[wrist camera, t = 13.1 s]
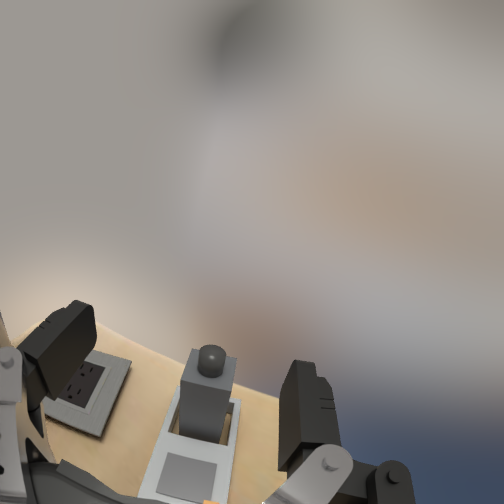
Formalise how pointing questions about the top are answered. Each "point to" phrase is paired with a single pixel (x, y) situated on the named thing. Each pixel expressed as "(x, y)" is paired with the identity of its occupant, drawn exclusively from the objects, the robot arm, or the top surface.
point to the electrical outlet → (89, 393)
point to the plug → (205, 393)
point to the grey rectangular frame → (190, 463)
